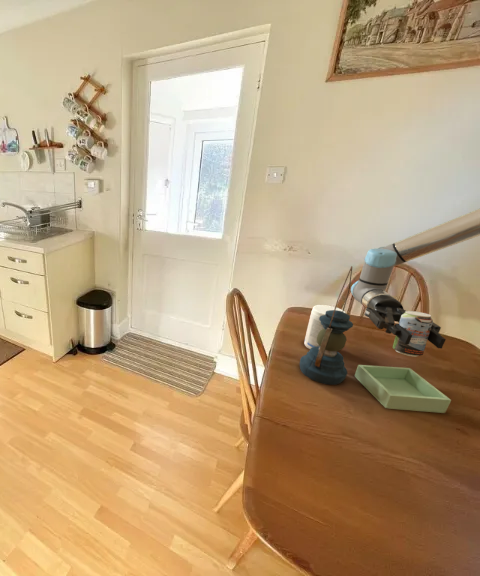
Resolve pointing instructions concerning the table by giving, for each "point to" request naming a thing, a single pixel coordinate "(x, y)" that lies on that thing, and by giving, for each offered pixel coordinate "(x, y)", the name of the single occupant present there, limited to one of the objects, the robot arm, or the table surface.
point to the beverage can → (414, 333)
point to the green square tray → (401, 389)
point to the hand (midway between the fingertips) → (424, 341)
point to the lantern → (328, 347)
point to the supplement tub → (316, 324)
